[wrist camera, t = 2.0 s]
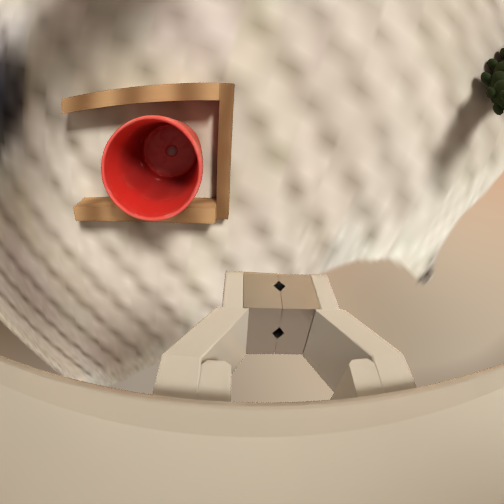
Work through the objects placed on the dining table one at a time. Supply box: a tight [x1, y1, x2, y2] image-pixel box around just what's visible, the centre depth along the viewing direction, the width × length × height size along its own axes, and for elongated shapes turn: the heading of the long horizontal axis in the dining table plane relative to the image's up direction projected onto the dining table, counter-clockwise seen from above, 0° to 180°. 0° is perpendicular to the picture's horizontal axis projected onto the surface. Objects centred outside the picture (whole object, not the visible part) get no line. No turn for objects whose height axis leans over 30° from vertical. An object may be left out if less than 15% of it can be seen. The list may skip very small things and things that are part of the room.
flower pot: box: [101, 115, 203, 221], centre depth 30 cm, size 11×11×10 cm
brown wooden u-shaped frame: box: [62, 83, 235, 224], centre depth 33 cm, size 22×17×4 cm
